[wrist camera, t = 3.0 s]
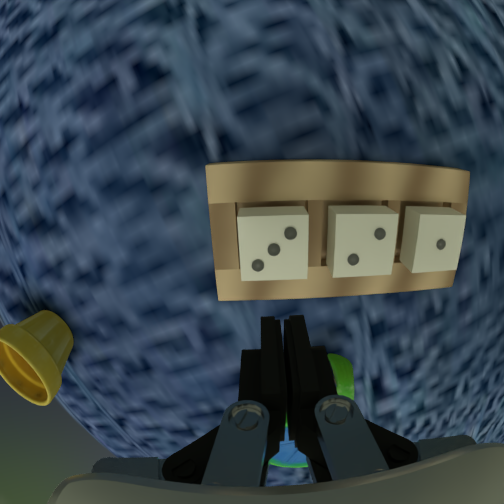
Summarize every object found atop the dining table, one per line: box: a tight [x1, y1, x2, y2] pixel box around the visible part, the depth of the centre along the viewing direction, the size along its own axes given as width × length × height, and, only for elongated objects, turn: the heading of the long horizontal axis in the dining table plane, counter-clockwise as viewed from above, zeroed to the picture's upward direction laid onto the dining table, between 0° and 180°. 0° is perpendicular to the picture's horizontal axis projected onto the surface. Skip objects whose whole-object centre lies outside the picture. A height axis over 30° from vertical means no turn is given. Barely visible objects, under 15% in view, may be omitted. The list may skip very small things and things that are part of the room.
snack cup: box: [270, 354, 354, 467], centre depth 28 cm, size 16×10×10 cm
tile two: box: [326, 205, 399, 278], centre depth 22 cm, size 5×5×3 cm
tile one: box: [400, 206, 466, 273], centre depth 22 cm, size 5×5×3 cm
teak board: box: [206, 159, 470, 301], centre depth 25 cm, size 24×12×2 cm, turn 93°
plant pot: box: [0, 310, 74, 406], centre depth 28 cm, size 10×10×10 cm
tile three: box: [237, 206, 309, 281], centre depth 23 cm, size 5×5×3 cm
